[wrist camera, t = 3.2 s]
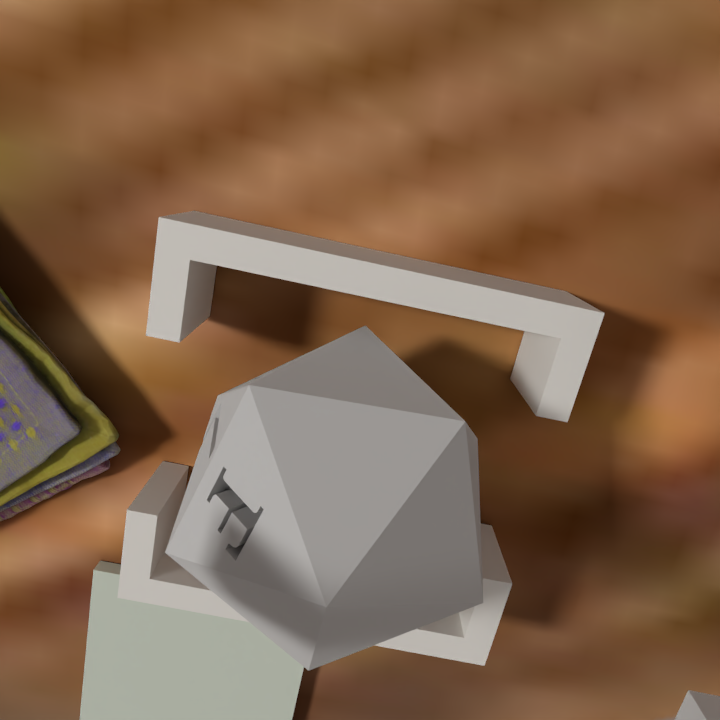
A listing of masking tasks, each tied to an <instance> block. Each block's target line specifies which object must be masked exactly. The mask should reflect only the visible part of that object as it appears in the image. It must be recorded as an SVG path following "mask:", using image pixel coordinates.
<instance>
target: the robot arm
mask: <svg viewBox="0 0 720 720" xmlns="http://www.w3.org/2000/svg"><path fill="white" fill-rule="evenodd" d="M675 720H720V696H715V695H710V694H705V693H700V692H695V691H690V690H688V692H687V694H686V696H685V699H684V701H683V703H682V705H681V707H680V709H679V712H678V714H677V716H676V718H675Z"/></svg>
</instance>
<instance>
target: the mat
mask: <svg viewBox="0 0 720 720" xmlns="http://www.w3.org/2000/svg"><path fill="white" fill-rule="evenodd" d="M120 570H121V564H116V563H110V562H105V561H100V562H99V563H98V564H97V566H96V567H95V569H94V571H93V582H92V592H91V603H90V614H89V624H88V635H87V646H86V657H85V667H84V678H83V689H82V700H81V710H80V720H292V717H293V713H294V709H295V704H296V700H297V696H298V691H299V687H300V683H301V678H302V674H303V670H304V667H303V666H302V665H301V664H300V663H299V662H297V661H296V660H295V659H294V658H292V657H291V656H290V655H289V654H288V653H286V652H285V651H284V650H283V649H282V648H280V647H279V646H278V645H277V644H275V643H274V642H273V641H272V640H271V639H269V638H268V637H267V636H266V635H265V634H263V633H262V632H261V631H260V630H258V629H257V628H256V627H255V626H254V625H252V624H251V623H250V622H246V621H240V620H235V619H230V618H224V617H219V616H213V615H208V614H202V613H197V612H192V611H186V610H181V609H175V608H170V607H165V606H159V605H154V604H148V603H143V602H138V601H132V600H127V599H121V598H117V597H118V588H119V579H120Z"/></svg>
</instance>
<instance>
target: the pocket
mask: <svg viewBox="0 0 720 720" xmlns="http://www.w3.org/2000/svg"><path fill="white" fill-rule="evenodd" d="M217 266H222V267H226V268H231V269H236V270H240V271H245V272H250V273H254V274H259V275H264V276H269V277H273V278H278V279H283V280H287V281H292V282H297V283H302V284H306V285H311V286H316V287H320V288H325V289H330V290H334V291H339V292H344V293H349V294H353V295H358V296H363V297H367V298H372V299H377V300H381V301H386V302H391V303H396V304H400V305H405V306H410V307H414V308H419V309H424V310H429V311H433V312H438V313H443V314H447V315H452V316H457V317H461V318H466V319H471V320H476V321H480V322H485V323H490V324H494V325H499V326H504V327H508V328H513V329H518V330H523V331H524V335H523V338H522V341H521V345H520V348H519V351H518V354H517V358H516V361H515V364H514V368H513V371H512V374H511V378H510V380H511V381H512V383H513V384H514V385H515V387H516V388H517V390H518V391H519V392H520V394H521V395H522V397H523V398H524V400H525V401H526V402H527V404H528V405H529V407H530V408H531V409H532V411H533V412H534V414H535V415H536V416H539V417H544V418H549V419H554V420H558V421H563V422H568V419H569V417H570V414H571V411H572V408H573V405H574V402H575V399H576V396H577V393H578V390H579V387H580V384H581V381H582V378H583V375H584V373H585V370H586V367H587V364H588V361H589V358H590V355H591V352H592V349H593V346H594V343H595V340H596V337H597V334H598V332H599V329H600V326H601V323H602V320H603V317H604V314H605V313H604V312H602V311H600V310H598V309H597V308H595V307H593V306H591V305H590V304H588V303H586V302H584V301H583V300H581V299H579V298H577V297H575V296H574V295H572V294H570V293H568V292H567V291H562V290H558V289H553V288H549V287H544V286H539V285H535V284H530V283H525V282H521V281H516V280H512V279H507V278H502V277H498V276H493V275H489V274H484V273H479V272H475V271H470V270H465V269H461V268H456V267H452V266H447V265H442V264H438V263H433V262H428V261H424V260H419V259H415V258H410V257H405V256H401V255H396V254H392V253H387V252H382V251H378V250H373V249H368V248H364V247H359V246H355V245H350V244H345V243H341V242H336V241H331V240H327V239H322V238H318V237H313V236H308V235H304V234H299V233H295V232H290V231H285V230H281V229H276V228H271V227H267V226H262V225H258V224H253V223H248V222H244V221H239V220H234V219H230V218H225V217H221V216H216V215H211V214H207V213H202V212H198V211H191V212H185V213H179V214H173V215H168V216H162V217H159V221H158V230H157V239H156V248H155V257H154V267H153V276H152V285H151V294H150V303H149V313H148V322H147V331H146V336H151V337H155V338H160V339H165V340H170V341H175V342H181V341H182V340H183V339H184V338H185V337H186V336H188V335H189V334H190V333H191V332H192V331H193V330H195V329H196V328H197V327H198V326H199V325H200V324H202V323H203V322H204V321H205V320H206V319H207V318H209V317H210V312H211V305H212V298H213V291H214V283H215V276H216V269H217ZM188 469H189V466H186V465H181V464H176V463H171V462H166V461H163V462H162V463H161V464H160V466H159V467H158V468H157V470H156V471H155V472H154V474H153V475H152V477H151V478H150V479H149V481H148V482H147V483H146V485H145V486H144V487H143V489H142V490H141V491H140V493H139V494H138V496H137V497H136V498H135V500H134V501H133V502H132V504H131V505H130V506H129V508H128V509H127V515H126V524H125V533H124V542H123V551H122V560H121V570H120V579H119V588H118V597H117V598H121V599H127V600H132V601H138V602H143V603H148V604H154V605H159V606H165V607H170V608H175V609H181V610H186V611H192V612H197V613H202V614H208V615H213V616H219V617H224V618H230V619H235V620H240V621H246V622H249V621H247V620H246V619H245V618H244V617H243V616H241V615H240V614H239V613H238V612H237V611H235V610H234V609H233V608H232V607H230V606H229V605H228V604H227V603H226V602H224V601H223V600H222V599H221V598H220V597H218V596H217V595H216V594H215V593H213V592H212V591H211V590H210V589H209V588H207V587H206V586H205V585H204V584H202V583H201V582H200V581H199V580H198V579H196V578H195V577H194V576H193V575H192V574H190V573H189V572H188V571H187V570H185V569H184V568H183V567H182V566H181V565H179V564H178V563H177V562H176V561H174V560H173V559H172V558H171V557H170V556H168V555H167V554H166V553H165V551H166V548H167V545H168V542H169V539H170V536H171V533H172V530H173V527H174V524H175V521H176V518H177V515H178V512H179V509H180V506H181V504H182V501H183V498H184V495H185V490H186V483H187V476H188ZM481 549H482V578H483V603H482V604H479V605H476V606H474V607H471V608H469V609H466V610H464V611H461V612H458V613H456V614H453V615H451V616H448V617H446V618H443V619H440V620H438V621H435V622H433V623H430V624H428V625H425V626H422V627H420V628H417V629H415V630H412V631H409V632H407V633H404V634H402V635H399V636H397V637H394V638H391V639H389V640H386V641H384V642H381V643H379V644H376V645H375V646H381V647H386V648H392V649H397V650H403V651H408V652H413V653H419V654H424V655H430V656H435V657H440V658H446V659H451V660H457V661H462V662H467V663H473V664H478V665H484V666H485V663H486V660H487V657H488V654H489V651H490V648H491V645H492V642H493V639H494V636H495V633H496V630H497V627H498V624H499V622H500V619H501V616H502V613H503V610H504V607H505V604H506V601H507V598H508V595H509V592H510V589H511V586H512V581H511V579H510V576H509V573H508V570H507V567H506V564H505V562H504V559H503V556H502V553H501V550H500V547H499V545H498V542H497V539H496V536H495V533H494V530H493V528H492V526H491V525H486V524H481Z"/></svg>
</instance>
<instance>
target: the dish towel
mask: <svg viewBox="0 0 720 720" xmlns="http://www.w3.org/2000/svg"><path fill="white" fill-rule="evenodd" d="M118 437H119V434H118V432H117V430H116V428H115V427H114V425H113V424H112V422H111V421H110V420H109V418H108V417H107V416H106V415H105V414H104V413H103V412H102V411H101V410H100V409H99V408H98V407H97V406H96V405H95V404H94V402H92V401H91V400H90V399H89V398H87V397H86V396H85V394H84V393H83V392H82V390H81V389H80V388H79V386H78V385H77V383H76V382H75V380H74V379H73V378H72V376H71V375H70V373H69V372H68V370H67V369H66V368H65V367H64V366H63V364H62V363H61V362H60V361H59V360H58V358H57V357H56V356H55V355H54V354H53V353H52V351H51V350H50V349H49V348H48V347H47V346H46V345H45V343H44V342H43V341H42V340H41V339H40V338H39V337H38V336H37V334H36V333H35V332H34V331H33V330H32V329H31V328H30V326H29V325H28V324H27V323H26V322H25V321H24V320H23V318H22V317H21V316H20V315H19V314H18V312H17V311H16V309H15V307H14V306H13V304H12V303H11V301H10V300H9V298H8V297H7V295H6V294H5V293H4V291H3V290H2V288H1V287H0V521H3V520H5V519H8V518H11V517H13V516H14V515H16V514H17V513H19V512H21V511H24V510H26V509H28V508H30V507H32V506H34V505H35V504H37V503H39V502H41V501H42V500H45V499H48V498H51V497H52V496H53V495H55V494H57V493H58V492H60V491H63V490H67V489H68V488H70V487H71V486H72V485H73V484H75V483H77V482H79V481H81V480H83V479H86V478H90V477H93V476H95V475H98V474H100V473H102V472H104V471H106V470H108V469H109V467H110V461H109V459H110V458H112V457H114V456H116V455H117V454H118V453H119V452H120V450H121V449H120V448H119V446H118V445H117V443H116V441H117V439H118Z"/></svg>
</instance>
